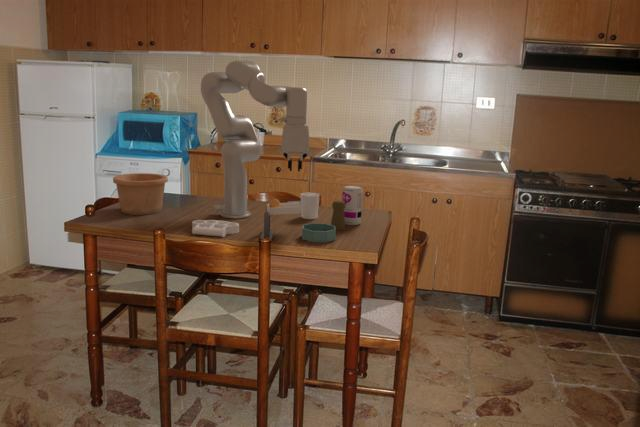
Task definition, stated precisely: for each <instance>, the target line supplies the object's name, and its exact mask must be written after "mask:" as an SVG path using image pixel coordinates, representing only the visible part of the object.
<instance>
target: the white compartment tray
mask: <svg viewBox="0 0 640 427" xmlns="http://www.w3.org/2000/svg"><path fill="white" fill-rule="evenodd" d="M191 223H192V224H191V228H192V230H191V234H192V235H198V236H199V235H200V236H208V237H221V238H224V237H225V236H226V235H235V233H236V234H239V233H240V224H239V223H238V222H230V221H227V220H216V219H207V220H205V219H197V220H192V222H191ZM238 232H239V233H238Z"/></svg>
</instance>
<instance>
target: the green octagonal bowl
mask: <svg viewBox="0 0 640 427" xmlns="http://www.w3.org/2000/svg"><path fill="white" fill-rule="evenodd" d="M301 232H302V233H301V239H302V240H303V241H307V242H310V243H330V242H333V241H336V239H337V238H336V236H337V235H336V234H337V230H336V227H335V226H333V225H331V224H328V223H325V222H324V223H318V222H311V223H305V224H302V227H301Z"/></svg>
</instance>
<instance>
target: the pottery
mask: <svg viewBox="0 0 640 427" xmlns="http://www.w3.org/2000/svg"><path fill="white" fill-rule="evenodd" d="M112 178H113V179H112V181H113V184H115V185H116V190H117V195H118V201H119V206H120V211H121V213H122V212H123V214H124V213H125V215H131V216H148V214H150V215H153V214H155V215H156V214H158V213H160V212H162V210H163V202H164V193H165V186H166V183H167V182H168V179H169V178H168V176H167V175H164V174H158V173H148V172H144V173H143V172H141V173H140V172H137V173H136V172H135V173H134V172H133V173H124V174H123V173H122V174H118V175H115V176H113V177H112Z"/></svg>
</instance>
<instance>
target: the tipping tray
mask: <svg viewBox="0 0 640 427" xmlns="http://www.w3.org/2000/svg"><path fill="white" fill-rule="evenodd" d="M266 207H267V213H269V215H270V216H273V215H274V216H275V215H277V216H278V215H299V214H300V215H301V200H288V201H287V202H280V207H275V208H270V206H269V203H267V205H266Z"/></svg>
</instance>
